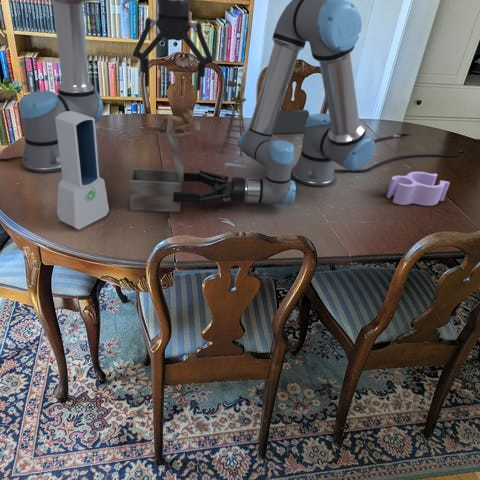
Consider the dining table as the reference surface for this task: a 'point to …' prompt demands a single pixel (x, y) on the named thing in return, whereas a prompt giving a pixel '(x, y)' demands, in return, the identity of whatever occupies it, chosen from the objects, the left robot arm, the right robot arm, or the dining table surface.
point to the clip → (417, 189)
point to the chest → (154, 190)
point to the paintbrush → (389, 137)
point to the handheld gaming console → (291, 121)
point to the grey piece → (175, 147)
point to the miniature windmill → (238, 100)
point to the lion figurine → (179, 119)
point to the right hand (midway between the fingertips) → (174, 186)
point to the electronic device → (79, 171)
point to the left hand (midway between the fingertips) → (172, 87)
